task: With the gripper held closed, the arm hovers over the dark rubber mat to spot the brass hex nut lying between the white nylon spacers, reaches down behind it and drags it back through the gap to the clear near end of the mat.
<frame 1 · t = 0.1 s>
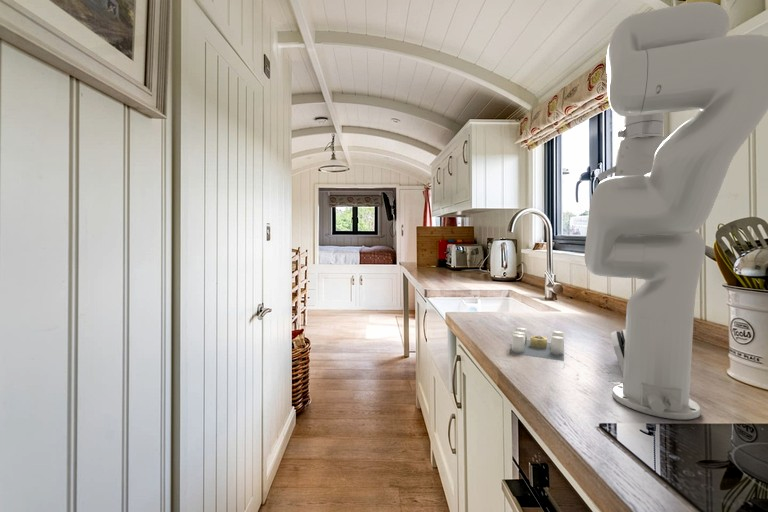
hand: (639, 208, 86), 37 cm above the table, tool pointing down, fingers open, 9 cm apart
spacers: (538, 341, 98), on the mat
nut: (538, 346, 101), resting on mat
mat: (537, 350, 99), on the table
hinge: (629, 371, 85), on the table
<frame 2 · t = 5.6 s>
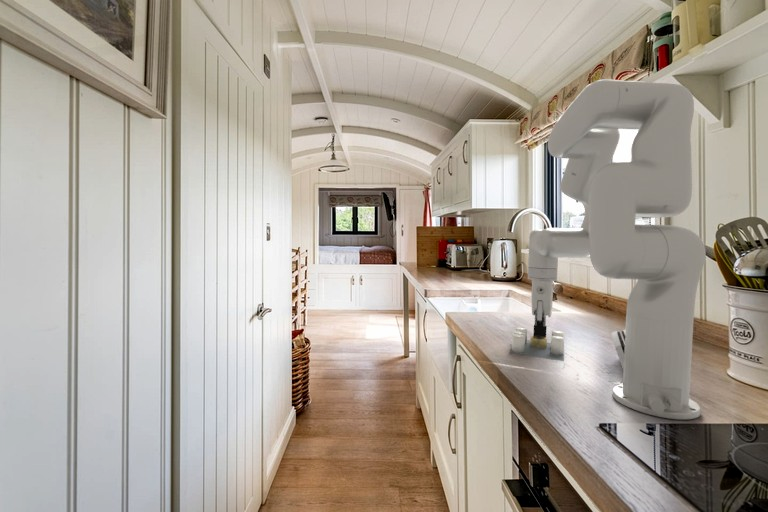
hand: (539, 339, 104), 1 cm above the table, tool pointing down, fingers closed
nut: (538, 346, 101), resting on mat, touching gripper
everything else where it was.
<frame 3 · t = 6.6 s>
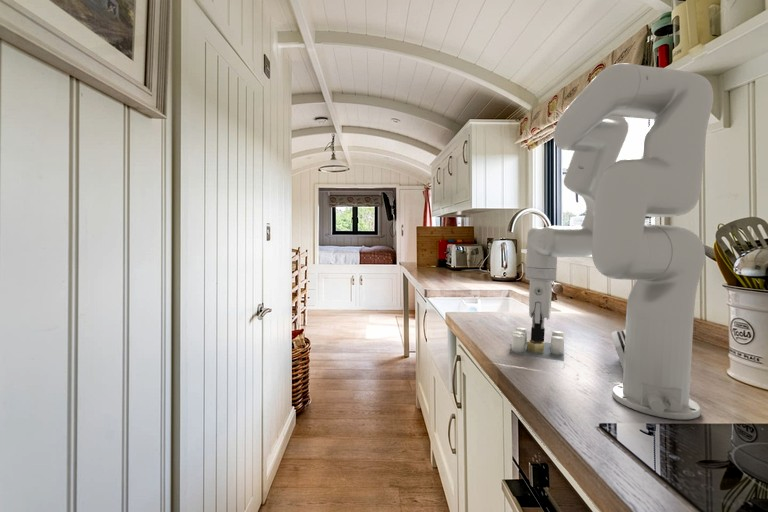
hand: (537, 342, 100), 2 cm above the table, tool pointing down, fingers closed
nut: (535, 350, 96), resting on mat, touching gripper
everything else where it was.
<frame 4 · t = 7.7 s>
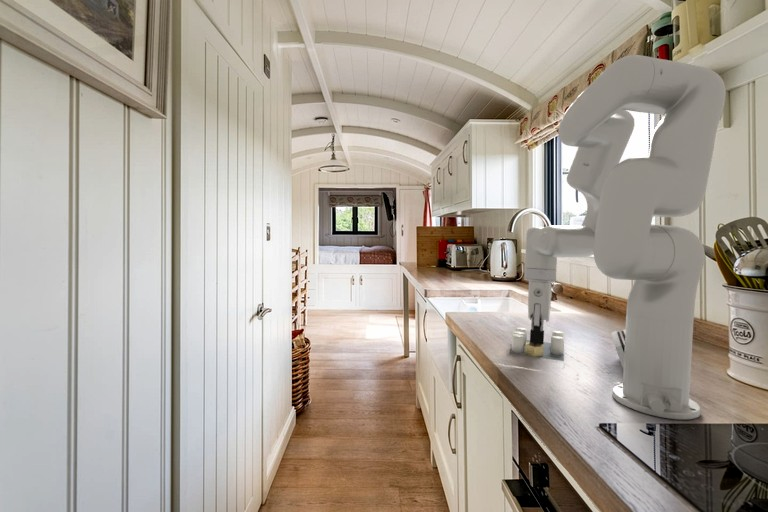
hand: (536, 345, 97), 2 cm above the table, tool pointing down, fingers closed
nut: (534, 353, 94), resting on mat, touching gripper
everything else where it was.
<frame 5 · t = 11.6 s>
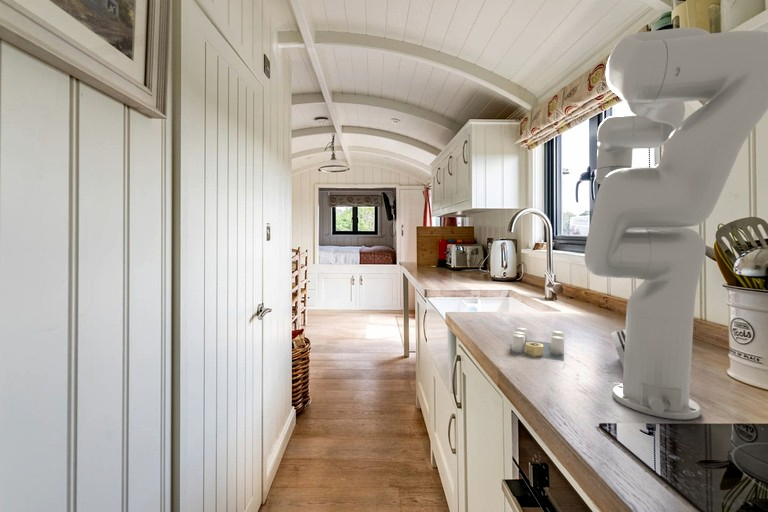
hand: (609, 249, 94), 27 cm above the table, tool pointing down, fingers closed
nut: (534, 353, 94), resting on mat
everything else where it was.
at the end: nut inside the target area (1.3 cm from its centre), resting on mat; nut moved 8.3 cm from its start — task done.
